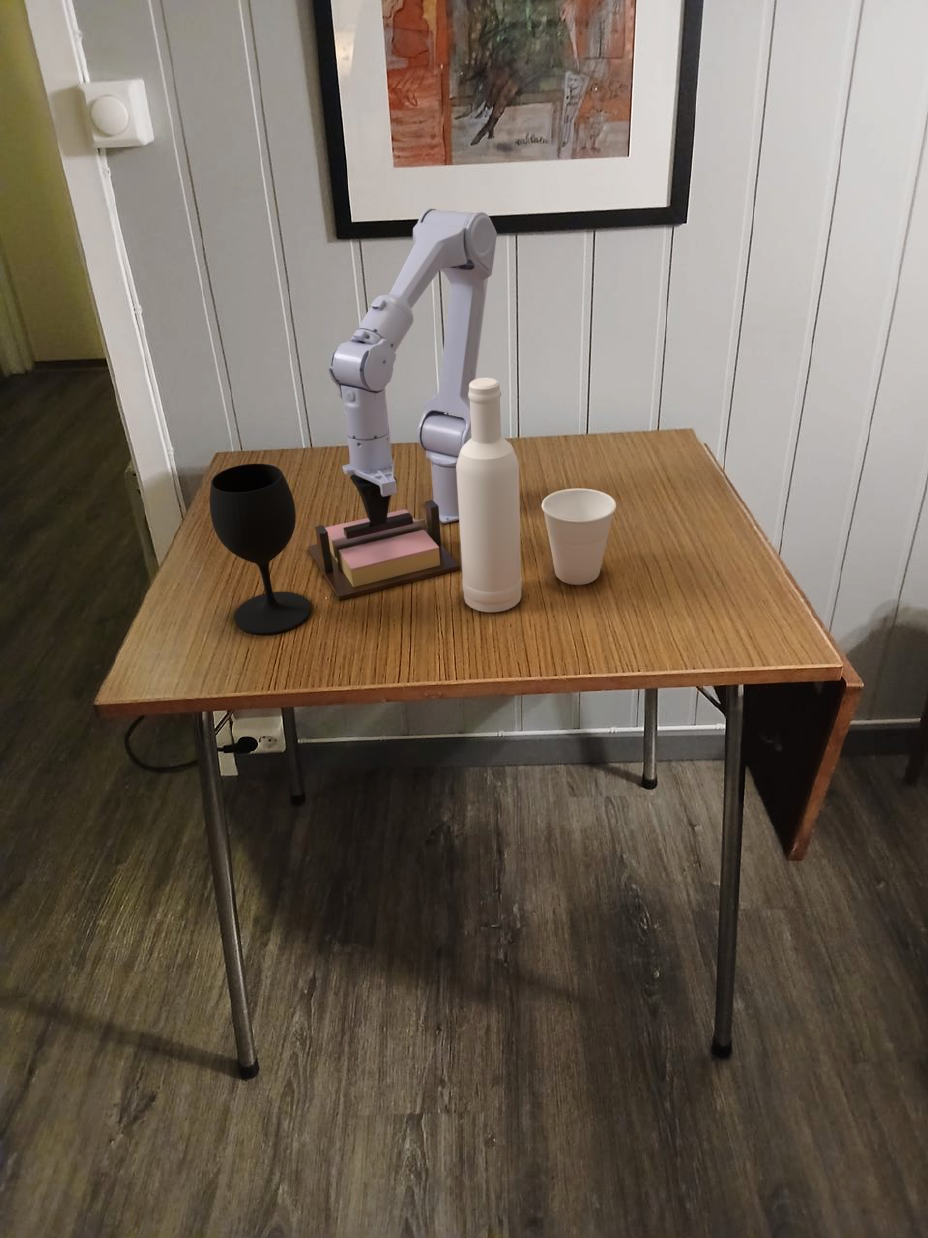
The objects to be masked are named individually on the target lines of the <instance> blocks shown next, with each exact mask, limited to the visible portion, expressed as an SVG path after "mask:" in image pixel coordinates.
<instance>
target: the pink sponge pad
mask: <svg viewBox="0 0 928 1238" xmlns="http://www.w3.org/2000/svg"><path fill="white" fill-rule="evenodd" d="M404 513H410V512H409V511H408V510H407V508H406V509H400V510H395V511H392V512H391V511H390V512H388V515H387V517H392V516H396V515H400V514H404ZM415 520H416V519H415V517H413V521H415ZM366 522H370V521H369V519H368V517H365V518H361V519H357V520H353V521H348V522H344V523H339V524H335V525H330V526H326V527H325V529H326V530H327V532H328V537H329V544H330V551H331V553H332V555H333V557H334V551H333V544H332V540H335V539H339V538H343V537H345V535H344V529H343V528H344V527H349V526H353V525H357V524H361V523H366ZM338 551H339V557H338V558H335V557H334V558H335V560H336V561H337V563H340V564H341V569H342V570H343V572H344V573H345V575H346V577H347V578H348V580H349V581H350V583H351V584H352V586H353V587H357V586H361V585H365V584H369V583H373V582H376V581H380V580H384V579H388V578H392V577H396V576H400V575H404V574H408V573H412V572H416V571H420V570H424V569H428V568H432V567H436V566H440V556H439V547H438V545H437V544H436V543H435V542H434V541H433V540H432V538H431V537H430V536H429V535H428V534H427V533H426V532H425V530H420V531H416V532H412V533H408V534H404V535H399V536H395V537H391V538H387V539H383V540H378V541H374V542H370V543H366V544H362V545H358V546H353V547H349V548H345V549H341V550H338Z"/></svg>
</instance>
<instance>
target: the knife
mask: <svg viewBox="0 0 928 1238" xmlns="http://www.w3.org/2000/svg"><path fill="white" fill-rule="evenodd" d="M413 518H414V516H413V515H412V514H411V513H410V512H409V513H404V514H400V515H396V516H392V517H387V520H386V523H382V524H378V525H372V524H371V522H366V523H361V524H357V525H353V526H349V527H344V528H343V529H344V535H345V537H343V538H339V539H335V540H332V544H333V551H334V557H335V558H338V557H339V551H338V550H341V549H345V548H349V547H353V546H358V545H362V544H366V543H370V542H374V541H378V540H383V539H387V538H391V537H395V536H399V535H404V534H408V533H412V532H416V531H420V530H425V532H426V528H425V526H426V519H425V518H420V519H415V521H413Z"/></svg>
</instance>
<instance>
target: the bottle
mask: <svg viewBox="0 0 928 1238" xmlns="http://www.w3.org/2000/svg"><path fill="white" fill-rule="evenodd" d="M500 386H501V385H500V382H499V381H498V380H497V379H495V378H493V377H479V378H475V380H473V381H471V382H470V384H469V392H468V397H469V399H470V417H471V438H470V439H469V440H468V441H467V442H466V443H465V444H464V445H463V446H462V448H461V450H460V454H459V457H458V460H457V464H456V473H457V490H458V506H459V520H458V521H459V537H460V555H461V556H460V558H461V571H462V572H461V573H462V579H461V584H462V585H461V587H462V590H463V599H464V602H465V604H466V605H467V606H469V608H471V609H472V610H473V609H474V610H475V611H478V612H483V613H489V614H490V613H500V612H506V611H508V610H510V609H512V608H514V607H516V606H517V605H518V604H519V603H520V601H521V599H522V588H523V578H522V577H523V576H522V560H521V559H522V555H521V554H522V553H521V552H522V551H521V510H520V509H521V508H520V507H521V505H520V504H521V503H520V502H521V501H520V463H519V459H518V457H517V454H516V452H515V449H514V447H513V445H512V444H511V442H509V441H508V440H507V439H505V438H504V437H503V436H502V423H501V421H502V420H501V419H502V417H501V396H502V391H501V387H500Z"/></svg>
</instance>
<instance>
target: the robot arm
mask: <svg viewBox="0 0 928 1238" xmlns="http://www.w3.org/2000/svg"><path fill="white" fill-rule="evenodd" d="M497 237H498V233H497V231H496V227H495V226H494V224H493V221H492V219H491V217H490V216H489V215H488V214H487V213H486V212H483V211H476V212H469V211H468V212H467V211H456V210H455V211H454V210H441V209H436V208H431V207H430V208H427V209H425V210H424V211H422V213H421V214H420V216H419V218H418V219H417V223H416V224H415V225H414V226H413V228H412V244H413V247H412V249H411V250H410V253H408V256H407V258H406V260H405V262H404V265H403V266H402V268H401V270H400V271H399V274H398V276H397V278H396V280H395V282H394V284H393V286H392V288H391V290H390V292H389V294H381V295H378V296H377V297H376V298H374V300H373V301H372V303H371V304H370V307H369V309H368V311H367V312H366V314H365V316H364V317H363V319H362V320H361V322H360V323H359V325H358V327H357V328H356V330H355V332H354V333H353V334H352V336H351V338H350V339H349V340H345V341H344V342H341V344H339V345H337V346H336V348H335V349H334V350H333V352H332V355H331V358H330V365H329V367H328V374H329V377H330V379H331V381H333V383H335V386H336V387H337V394H338V396H339V397H340V399H341V400H342V405H343V412H344V419H345V420H344V421H345V429H346V438H347V445H348V453H349V454H348V455H349V463H348V464H344V465H342V472H343V473H344V474H345V475H347V476H349V479H350V480H351V482H352V483H353V484H354V486H355V488H356V490H357V492H358V495H359V496H360V499H361V501H362V504H363V507H364V510H365V513H366V516H367V518H368V519H369V521H370V522H371V524H372V525H378V524H382V523H386V520H387V515H388V513H389V508H390V501H391V498H392V496H393V495H396V494H398V489H397V483H398V480H397V478H396V477H395V461H394V458H393V455H392V443H391V433H390V424H389V415H388V414H389V413H388V405H387V404H388V403H387V394H386V393H387V391H386V387H387V386H388V384H389V383H390V382H391V380H392V377H393V372H394V363H395V362H396V360H397V358H396V357H397V354H396V352H397V351H398V349H399V347H400V346H401V344H402V342H403V340H404V338H405V337H406V336H407V334H408V333H409V330H410V329H411V327H412V325H413V324H414V314H413V310H412V308H414V306H415V304H416V303H417V302H418V300H419V299H420V297H421V296H422V295H423V294H424V292H425V291H426V290H427V288H428V286H429V285H431V283H432V281H433V280H434V278H435V277H436V276H437V275H438V273H439V272H442V273H444V275H445V277H446V278H447V280H448V282H449V283H450V288H449V298H448V306H447V313H446V314H447V315H446V323H445V330H444V331H445V332H444V341H443V350H442V359H441V365H440V366H441V368H440V374H439V375H440V377H439V384H438V392H437V393H436V394H434V396H432V397H431V398H429V399H428V400H427V401H425V402H424V404H423V410H422V415H421V418H420V420H419V422H418V425H417V428H416V429H417V430H416V440H417V443H418V446H419V447H420V449H421V450H422V451H425V456H426V459H429V461H430V469H431V471H430V472H431V484H432V497H433V498H432V500H433V501H434V502H435V503H436V504H437V505H438V506H439V520H440V523H442V524H449V523H452V522H457V521H459V506H458V490H457V473H456V464H457V460H458V457H459V454H460V450H461V448H462V446H463V445H464V444H465V443H466V442H467V441H468V440H469V439H470V438H471V417H470V399H469V397H468V392H469V384H470V382H471V381H473V380H475V379H477V377H476V376H477V369H478V363H479V362H478V360H479V353H480V345H481V337H482V330H483V324H484V323H483V321H484V315H485V314H484V313H485V305H486V300H487V299H486V297H487V291H488V290H487V289H488V281H489V278H490V277H491V276H492V274H493V268H494V267H493V266H494V261H495V260H494V259H495V253H496V245H497Z"/></svg>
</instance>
